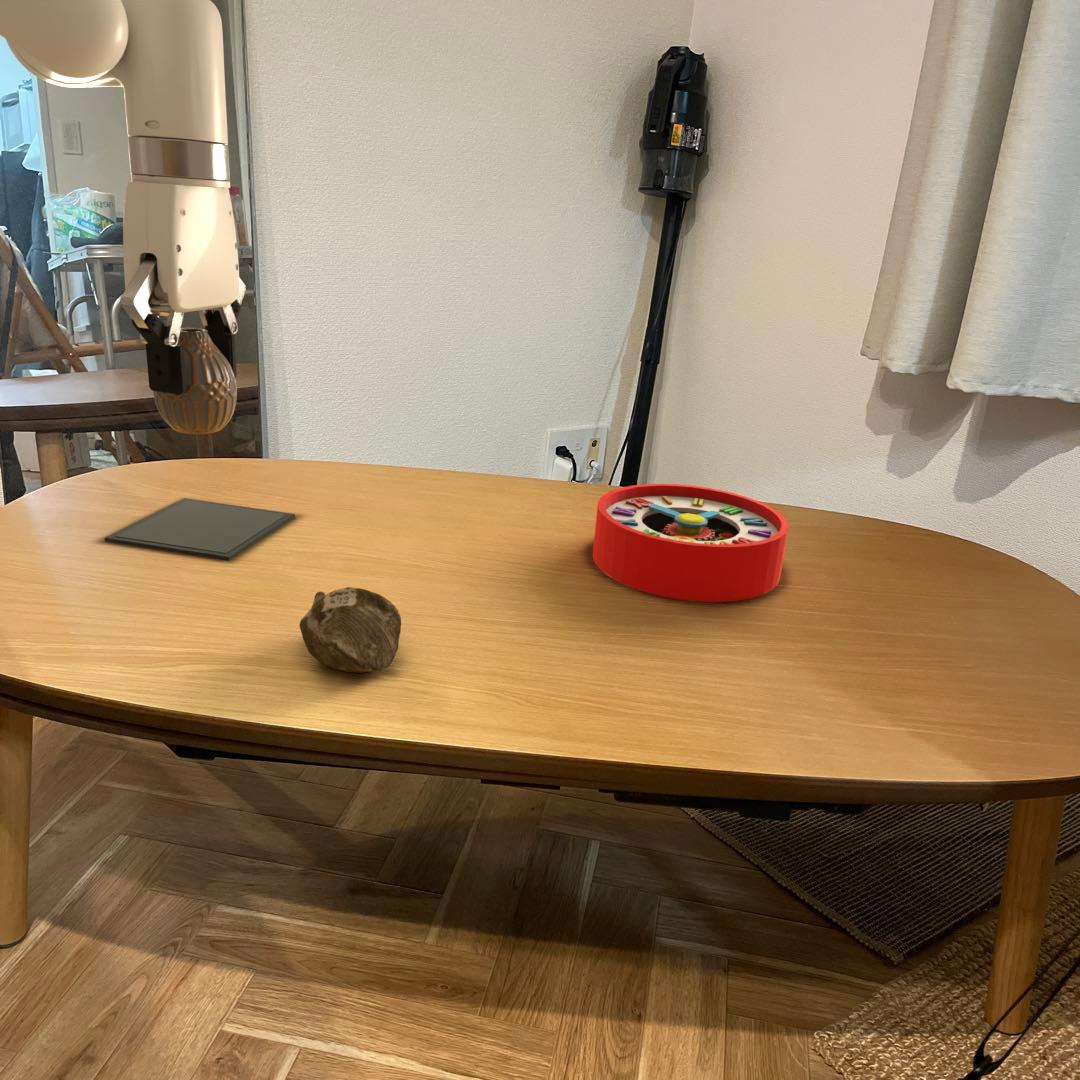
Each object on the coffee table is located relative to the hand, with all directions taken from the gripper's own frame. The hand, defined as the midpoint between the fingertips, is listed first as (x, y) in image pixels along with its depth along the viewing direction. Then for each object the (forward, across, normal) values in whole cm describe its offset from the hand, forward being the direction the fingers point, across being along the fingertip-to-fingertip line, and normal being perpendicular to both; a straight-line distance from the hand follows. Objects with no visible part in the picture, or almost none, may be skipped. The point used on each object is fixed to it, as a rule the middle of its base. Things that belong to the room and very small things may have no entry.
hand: (194, 382), depth 79 cm
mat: (+19, -11, -7) cm, 23 cm away
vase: (+4, 0, 0) cm, 4 cm away
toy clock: (+19, -22, +44) cm, 52 cm away
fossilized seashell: (+19, +10, +19) cm, 28 cm away
